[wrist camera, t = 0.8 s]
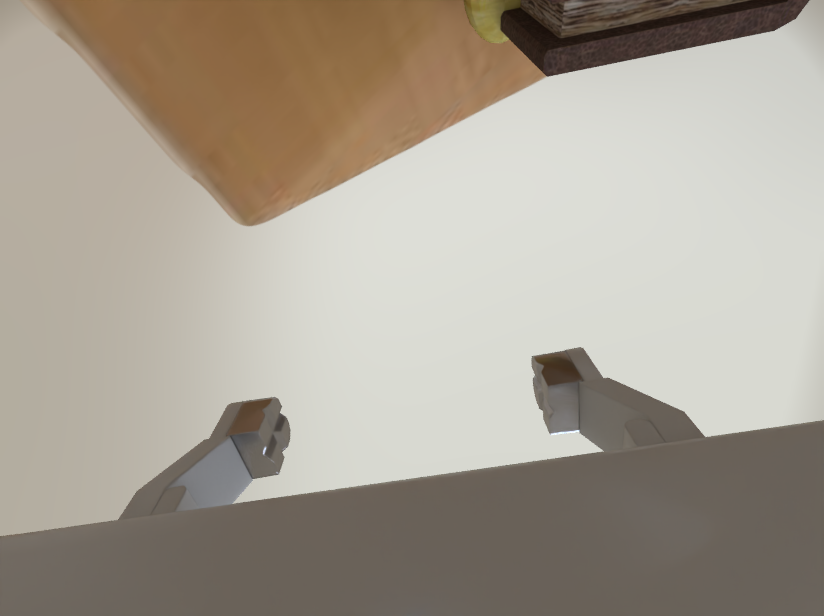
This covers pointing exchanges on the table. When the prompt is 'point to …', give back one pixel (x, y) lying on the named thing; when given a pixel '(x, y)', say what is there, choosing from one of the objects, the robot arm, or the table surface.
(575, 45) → the book
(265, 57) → the table surface
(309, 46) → the table surface
